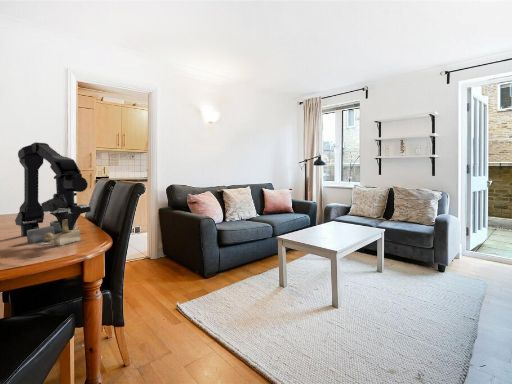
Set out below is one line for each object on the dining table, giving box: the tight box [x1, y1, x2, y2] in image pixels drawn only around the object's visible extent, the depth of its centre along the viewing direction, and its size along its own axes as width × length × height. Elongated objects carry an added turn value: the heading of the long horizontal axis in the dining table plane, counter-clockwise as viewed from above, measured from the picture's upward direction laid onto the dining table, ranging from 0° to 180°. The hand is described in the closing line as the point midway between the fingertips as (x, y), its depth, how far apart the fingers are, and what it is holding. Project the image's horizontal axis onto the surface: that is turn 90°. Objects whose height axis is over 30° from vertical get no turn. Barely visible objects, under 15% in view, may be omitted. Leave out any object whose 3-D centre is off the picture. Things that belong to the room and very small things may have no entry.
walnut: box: [43, 233, 54, 241], centre depth 115 cm, size 4×4×4 cm
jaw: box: [54, 219, 81, 245], centre depth 112 cm, size 3×9×9 cm, turn 166°
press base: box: [23, 225, 87, 249], centre depth 114 cm, size 19×12×6 cm, turn 75°
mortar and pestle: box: [49, 220, 77, 234], centre depth 130 cm, size 11×9×12 cm
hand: (67, 229), depth 112 cm, fingers closed on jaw, 3 cm apart
